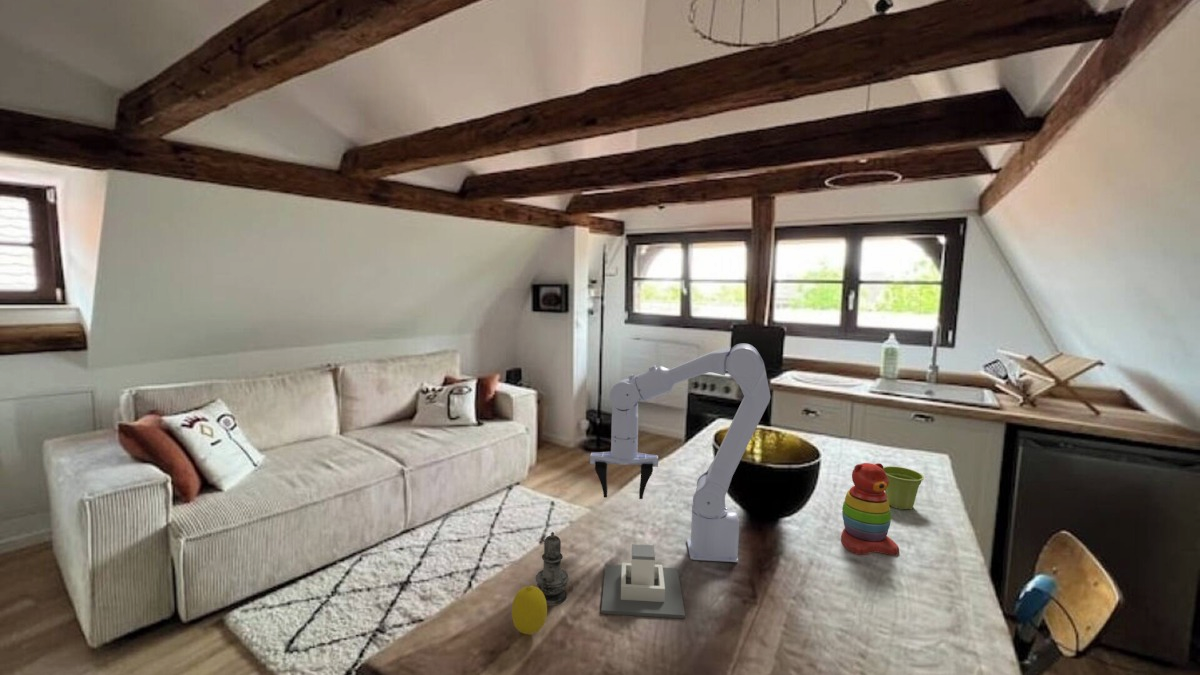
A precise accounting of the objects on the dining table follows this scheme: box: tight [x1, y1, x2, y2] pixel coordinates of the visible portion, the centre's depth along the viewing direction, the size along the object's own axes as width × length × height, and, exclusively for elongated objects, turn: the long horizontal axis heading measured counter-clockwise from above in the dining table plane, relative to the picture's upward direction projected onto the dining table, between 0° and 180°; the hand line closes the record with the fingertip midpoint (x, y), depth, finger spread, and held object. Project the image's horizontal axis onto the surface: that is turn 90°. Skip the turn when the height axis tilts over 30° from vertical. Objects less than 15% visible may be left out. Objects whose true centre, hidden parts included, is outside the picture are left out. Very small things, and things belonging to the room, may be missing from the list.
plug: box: [630, 544, 656, 586], centre depth 91 cm, size 4×4×7 cm
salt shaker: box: [534, 531, 570, 606], centre depth 89 cm, size 6×6×12 cm
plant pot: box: [883, 465, 925, 510], centre depth 130 cm, size 9×9×9 cm
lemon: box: [511, 585, 548, 636], centre depth 79 cm, size 6×6×8 cm
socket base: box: [600, 562, 686, 619], centre depth 91 cm, size 14×14×3 cm
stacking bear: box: [840, 462, 900, 556], centre depth 109 cm, size 11×10×18 cm
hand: (623, 496), depth 110 cm, fingers open, 7 cm apart
